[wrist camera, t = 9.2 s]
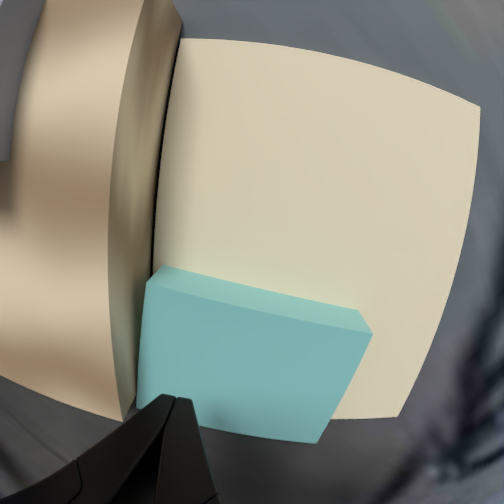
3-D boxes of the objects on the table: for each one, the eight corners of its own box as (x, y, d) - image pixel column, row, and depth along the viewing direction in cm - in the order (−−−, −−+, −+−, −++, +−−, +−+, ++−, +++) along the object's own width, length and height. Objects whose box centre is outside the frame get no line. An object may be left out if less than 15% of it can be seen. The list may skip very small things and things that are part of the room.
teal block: (310, 414, 14) (316, 443, 12) (149, 380, 13) (136, 408, 11) (357, 309, 12) (373, 333, 10) (163, 264, 12) (146, 282, 10)
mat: (395, 413, 14) (397, 416, 14) (156, 395, 14) (154, 399, 14) (476, 108, 10) (480, 107, 10) (182, 41, 10) (181, 38, 10)
